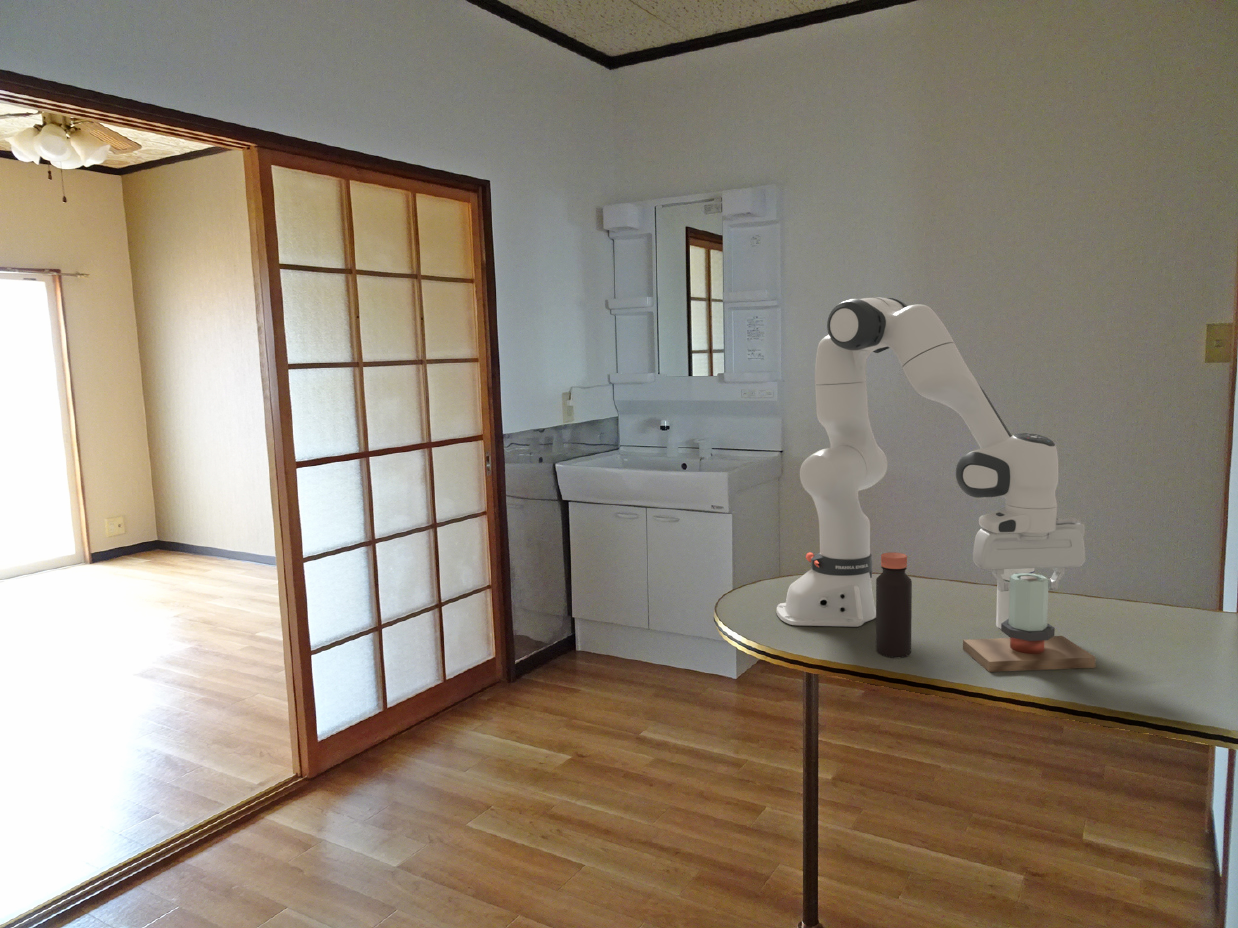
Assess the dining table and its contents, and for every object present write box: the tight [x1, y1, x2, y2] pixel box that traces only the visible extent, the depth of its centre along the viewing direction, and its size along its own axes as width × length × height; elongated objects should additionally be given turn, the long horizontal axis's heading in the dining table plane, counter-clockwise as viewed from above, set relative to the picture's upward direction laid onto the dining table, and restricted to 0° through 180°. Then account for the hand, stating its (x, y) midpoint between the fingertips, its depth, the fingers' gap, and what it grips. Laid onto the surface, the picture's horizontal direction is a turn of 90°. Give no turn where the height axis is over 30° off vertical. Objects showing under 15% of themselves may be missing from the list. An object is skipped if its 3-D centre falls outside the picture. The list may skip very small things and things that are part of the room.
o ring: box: [1000, 619, 1056, 641], centre depth 167 cm, size 9×9×2 cm
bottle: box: [875, 551, 913, 658], centre depth 172 cm, size 7×7×20 cm
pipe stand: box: [962, 576, 1097, 673], centre depth 166 cm, size 20×12×16 cm, turn 91°
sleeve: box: [1009, 573, 1050, 631], centre depth 166 cm, size 6×6×10 cm
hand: (1027, 589), depth 166 cm, fingers open, 8 cm apart
